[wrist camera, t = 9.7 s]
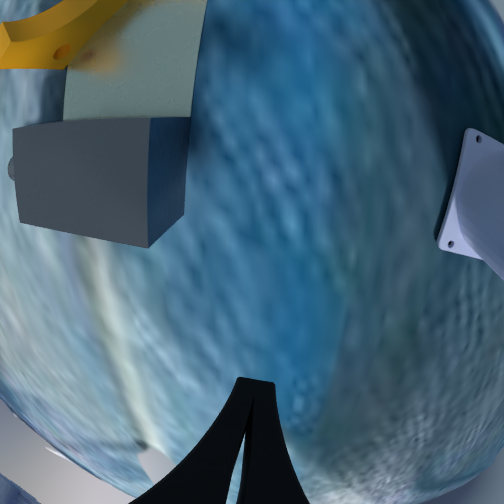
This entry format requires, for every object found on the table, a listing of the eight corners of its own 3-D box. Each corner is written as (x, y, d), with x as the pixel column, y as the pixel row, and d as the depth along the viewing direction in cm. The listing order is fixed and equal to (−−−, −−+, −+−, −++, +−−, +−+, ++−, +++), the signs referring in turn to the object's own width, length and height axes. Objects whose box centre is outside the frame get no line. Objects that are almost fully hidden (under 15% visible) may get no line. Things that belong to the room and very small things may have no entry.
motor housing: (228, -86, 8) (210, -125, 3) (183, 214, 18) (148, 248, 13) (74, -47, 9) (37, -63, 4) (41, 195, 18) (-2, 217, 14)
